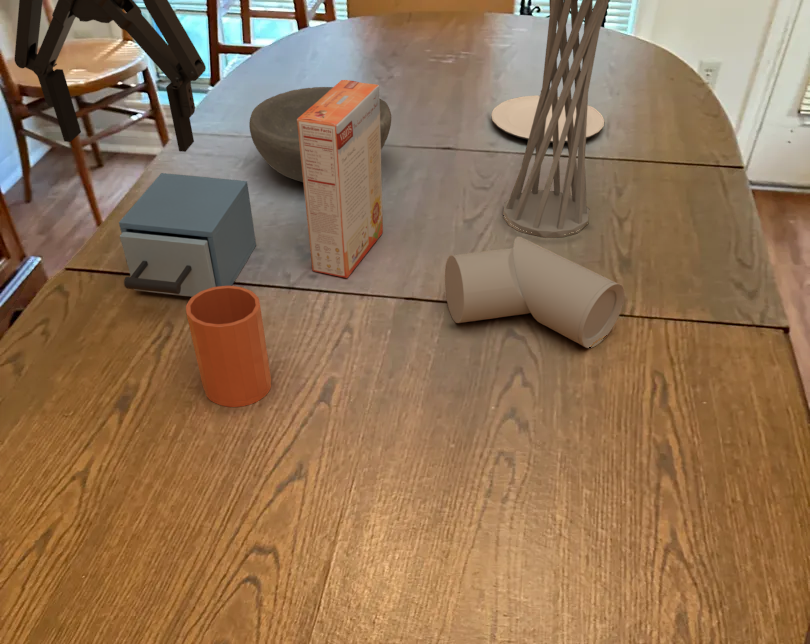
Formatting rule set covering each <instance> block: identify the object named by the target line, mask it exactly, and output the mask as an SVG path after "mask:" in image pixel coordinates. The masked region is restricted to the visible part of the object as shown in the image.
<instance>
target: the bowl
mask: <svg viewBox="0 0 810 644" xmlns="http://www.w3.org/2000/svg"><path fill="white" fill-rule="evenodd" d="M333 87H334V86H314V87H305V88H304V87H303V88H298V89H293V90H289V91H285V92H282V93H281V92H280V93H278V94H276V95H273V96H270V97H269V98H266V99H265V100H263V101H262V102H260V103H259V104H257V105H256V106H255V107H254V109H252V111H251V114H250V118H249V122H248V123H249V133H250V137H251V140H252V142H253V145H254V146H255V149H256V150H257V152H258V153H259V155H260V156H261V157H262V159H263V160H264V161H265V162H266V164H267V165H269V166H270V167H271V168H272V169H273V170H275V171H276V172H278V173H279V174H281V176H284V177H287V178H288V179H291V180H293V181H297V182H301V183H303V175H302V165H301V155H300V146H299V135H298V127H297V119H298V118H299V117H300V116H301V115H302V114H303V113H304V112H306V111H307V110H308V109H309V108H310V107H311V106H313V105H314V104H315V103H316V102H317V101H318V100H319V99H321V98H322V97H323V96H324V95H325V94H326V93H327V92H329V91H330V90H331V89H332V88H333ZM391 126H392V112H391V110H390V107H389V104H388V103H387V102H386V101H385V100H383V99H382V98H380V135H381V150H383V148H384V145H385V143H386V141H387V139H388V136H389V133H390V130H391Z"/></svg>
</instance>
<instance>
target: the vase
mask: <svg viewBox="0 0 810 644" xmlns="http://www.w3.org/2000/svg"><path fill="white" fill-rule="evenodd" d="M578 1H579V0H548V2H549V5H548V6H549V18H548V27H547V36H546V46H545V47H546V48H545V56H544V67H543V76H542V86H541V90H540V94H539V96H540V98H539V101H538V105H537V109H536V113H535V117H534V120H533V124H532V128H531V132H530V136H529V139H528V140H527V143H526V148H525V151H524V155H523V159H522V163H521V166H520V170H519V172H518V176H517V178H516V181H515V183H514V186H513V188H512V192H511V193H510V197H509V199H507V200H506V201H505V202H504V204H503V211H502V218H503V220H505V222H506V224H507V225H508V226H509V227H511V228H513V229H515V230H516V231H518V232H520V233H523V234H527V235H531V236H537V237H541V238H547V239H548V238H565V237H568V236H573V235H576V234H579V233H580V232H581V231H582V230H583V229H584V228H586V227H587V226H588V225H589V223H590V222H589V221H590V220H589V219H590V218H589V215H590V210H591V209H590V207H589V206H587V205H588V204H587V187H586V186H587V185H586V183H587V182H586V181H587V180H586V148H587V147H586V145H587V138H586V127H587V106H588V105H589V104H588V103H589V90H590V85H591V80H592V73H593V68H594V63H595V58H596V52H597V47H598V41H599V36H600V31H601V28H602V25H603V21H604V18H605V16H606V11H607V9H608V5H609V2H610V0H595V3H594V0H582V1H581V3H580V6H579V3H578ZM593 3H594V4H593ZM593 5H594V6H593ZM569 16H570V21H571V22H570V23H571V24H570V25H571V31H570V33H569V36H568V34H567V23H568V21H569ZM582 25H583V27H584V28H583V34H582V37H581V40H580V31H581V29H582V28H581V27H582ZM571 54H572V57H573V58H572V63H571V65H570V61H569V60H570V58H571ZM559 55H560V60H559V64H558V57H559ZM581 64H582V65H581ZM561 82H562V88H561V92H560V94H559V93H558V91H559V90H558V89H559V87H560V83H561ZM573 84H574V90H573V91H574V92H573V95H572V87H573ZM558 95H559V96H558ZM558 97H559V99H558ZM551 105H552V118H551V120H550V123H549V125H548V128H547V131H546V133H545V125H546V118H547V115H548V112H549V110H550V107H551ZM564 105H565V117H566V121H565V124H564V127H563V131H562V134H561V137H560V140H559V128H558V120H559V118H560V115H561V112H562V110H563V107H564ZM575 107H576V119H575V125H574V124H573V114H574V111H575ZM544 134H545V136H544ZM552 136H553V143H552V163H551V166H550V169H549V173H548V176H547V178H546V179H547V180H546V183H545V186H544V189H539V186H540V177H541V167H542V164H543V162H544V159H545V157H546V153H547V151H548V148H549V146H550V144H551V143H550V141H551V138H552ZM566 136H567V140H568V142H567V153H568V159H567V165H566V170H565V176H564V182H563V188H562V191H561V177H560V176H561V173H560V172H561V171H560V170H561V169H560V158H561V156H562V153H563V149H564V146H565V143H566V142H565V140H566ZM534 152H535V153H534ZM533 154H535V155H534V162H533V164H532V168H531V169H530V172H529V176H528V177H526V176H527V173H528V170H529V165H530V163H531V160H532V157H533ZM526 178H527V180H526ZM525 180H526V184H525ZM524 184H525V186H524ZM552 185H553V190H551V189H552ZM523 188H524V189H523ZM570 193H571V194H570ZM503 215H504V216H505V217H506V218H505V217H504V216H503ZM506 219H507V220H508V221H507V220H506ZM510 223H511V224H512V225H511V224H510ZM587 223H588V224H587ZM513 225H514V226H513ZM515 226H516V227H518V228H519V229H518V228H516V227H515ZM583 226H584V227H583ZM582 227H583V228H582ZM581 228H582V229H581ZM520 229H521V230H520ZM579 229H580V230H579ZM523 230H524V231H523ZM577 230H579V231H577ZM526 231H527V232H526ZM576 231H577V232H576ZM531 232H532V233H531ZM571 232H574V233H571ZM569 233H570V234H569ZM564 234H566V235H564Z"/></svg>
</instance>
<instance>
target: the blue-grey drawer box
mask: <svg viewBox="0 0 810 644" xmlns="http://www.w3.org/2000/svg"><path fill="white" fill-rule="evenodd" d="M118 225H119V229H120V232H121V234H122V233H123V232H130V233H134V231H133V229H134V230H144V231H153V232H163V233H173V234H182V235H192V236H201V237H207V238H208V243H209V249H210V254H211V259H212V265H213V270H214V275H215V280H216V287H219V286H234V283H235V282H236V280H237V278H238V277H239V275H240V273H241V271H242V270H243V268H244V267H245V265H246V263H247V262H248V260H249V259H250V256H251V255H252V253H253V251H255V248H256V247H257V241H256V234H255V233H256V232H255V227H254V219H253V213H252V206H251V198H250V191H249V184H248V181H247V180H241V179H240V180H239V179H230V178H220V177H209V176H200V175H199V176H197V175H187V174H176V173H169V172H168V173H166V172H165V173H164V172H161V173H160V174H159V175H158V176H157V177H156V178H155V180H153V182H152V183H151V184H150V185H149V187H147V189H146V190H145V191H144V192H143V193H142V195H141V196H140V197H139V198H138V199H137V201H135V203H134V204H133V205H132V207H130V208H129V210H128V211H127V212H126V213H125V214H124V215H123V217H122V218H121V219H120V220H119V221H118Z"/></svg>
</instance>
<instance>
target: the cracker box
mask: <svg viewBox="0 0 810 644" xmlns="http://www.w3.org/2000/svg"><path fill="white" fill-rule="evenodd" d="M332 87H333V88H332V89H331V90H330V91H329V92H327V93H326V94H325V95H324V96H323V97H322V98H321V99H319V100H318V101H317V102H316V103H315V104H314V105H313V106H311V107H310V108H309V109H308V110H307V111H306V112H304V113H303V114H302V115H301V116H300V117H299V118H298V119H297V127H298V135H299V146H300V155H301V165H302V175H303V182H302V183H303V193H304V203H305V211H306V221H307V222H306V223H307V231H308V240H309V251H310V260H311V269H312V272H316V273H321V274H325V275H331V276H335V277H340V278H344V279H348V278H349V277H350V276H351V274H352V273H353V272H354V270H355V269H356V268H357V266H358V265H359V264H360V262H361V261H362V260H363V259H364V257H365V256H366V255H367V254H368V253H369V251H370V250H371V249H372V248H373V246H374V245H375V244H376V242H377V241H378V240H379V239H380V237H381V236H382V234H383V232H384V222H383V182H382V181H383V179H382V149H381V135H380V99H381V98H380V85H379V84H375V83H367V82H360V81H355V80H350V79H349V80H348V79H340V81H338V82H337V83H336V84H335V85H334V86H332Z"/></svg>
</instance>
